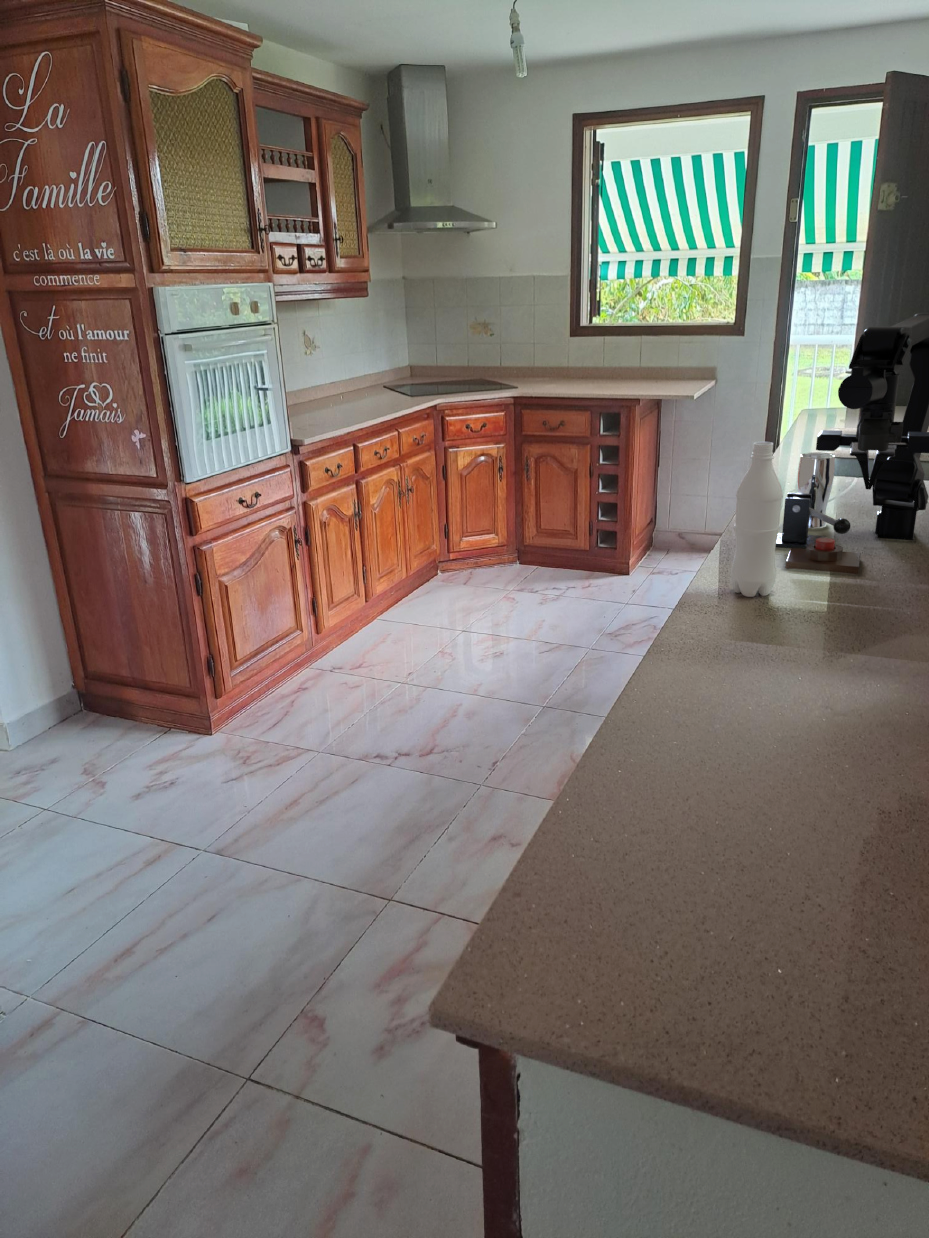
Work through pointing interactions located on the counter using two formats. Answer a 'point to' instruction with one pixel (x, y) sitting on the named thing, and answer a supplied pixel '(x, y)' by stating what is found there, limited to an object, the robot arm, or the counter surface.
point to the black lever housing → (796, 523)
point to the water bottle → (757, 525)
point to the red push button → (825, 544)
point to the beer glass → (816, 482)
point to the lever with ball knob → (831, 521)
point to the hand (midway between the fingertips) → (868, 489)
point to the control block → (823, 559)
